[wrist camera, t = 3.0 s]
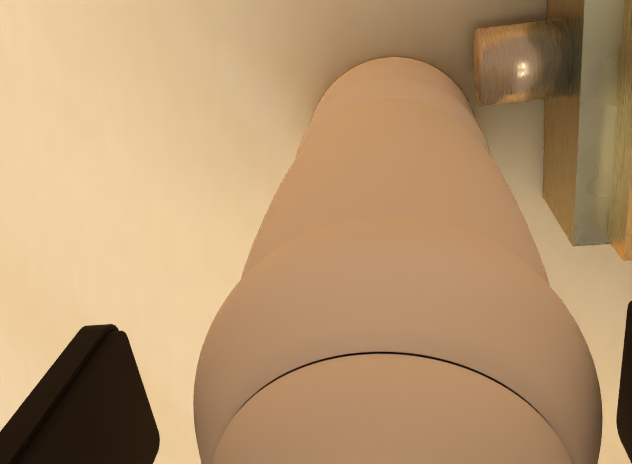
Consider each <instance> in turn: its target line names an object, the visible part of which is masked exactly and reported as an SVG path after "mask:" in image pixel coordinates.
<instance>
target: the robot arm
mask: <svg viewBox="0 0 632 464" xmlns="http://www.w3.org/2000/svg"><path fill="white" fill-rule="evenodd" d="M617 429H618V434H619V437H620V440H621V442H622V444H623V446H624V448H625V450H626V452H627V455H628V457H629V459H630V461H631V463H632V301H631V302H629V304H628V309H627V319H626V329H625V338H624V348H623V358H622V368H621V378H620V388H619V398H618V408H617ZM159 443H160V438H159V432H158V429H157V425H156V422H155V419H154V416H153V413H152V410H151V407H150V404H149V401H148V398H147V395H146V392H145V389H144V386H143V383H142V380H141V377H140V374H139V370H138V367H137V364H136V361H135V358H134V355H133V352H132V349H131V346H130V343H129V340H128V337H127V335H126V333H125V332H123V331H119V330H118V328H117V327H116V326H115V325H113V324H107V325H91V326H84V327H82V328H81V329H80V330H79V332H78V333H77V334H76V336H75V337H74V338H73V339H72V341H71V342H70V343H69V344H68V346H67V347H66V348H65V350H64V351H63V352H62V353H61V355H60V356H59V357H58V359H57V360H56V361H55V362H54V364H53V365H52V366H51V368H50V369H49V370H48V371H47V373H46V374H45V375H44V376H43V378H42V379H41V380H40V382H39V383H38V384H37V385H36V387H35V388H34V389H33V391H32V392H31V393H30V394H29V396H28V397H27V398H26V400H25V401H24V402H23V403H22V405H21V406H20V407H19V409H18V410H17V411H16V412H15V414H14V415H13V416H12V417H11V419H10V420H9V421H8V423H7V424H6V425H5V426H4V428H3V429H2V430H1V432H0V464H153V462H154V460H155V457H156V455H157V453H158V450H159Z"/></svg>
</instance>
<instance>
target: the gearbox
mask: <svg viewBox="0 0 632 464" xmlns="http://www.w3.org/2000/svg"><path fill="white" fill-rule="evenodd" d="M474 77H475V88H476V95H477V100H478V103H479V105H480V106H483V105H492V104H502V103H511V102H521V101H531V100H540V99H545V128H544V170H543V198H544V199H545V201H546V203H547V204H548V206H549V208H550V209H551V211H552V213H553V214H554V216H555V217H556V219H557V221H558V222H559V224H560V226H561V227H562V229H563V231H564V232H565V234H566V236H567V237H568V239H569V240H570V242H571V244H572V245H573V246H585V245H600V244H611V245H612V246H613V247H614V249H615V250H616V251H617V253H618V254H619V255H620V257H621V258H622V259H623V261H627V260H632V0H547V20H544V21H536V22H528V23H520V24H512V25H504V26H496V27H488V28H480V29H476V31H475V36H474Z"/></svg>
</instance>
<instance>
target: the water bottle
mask: <svg viewBox="0 0 632 464" xmlns="http://www.w3.org/2000/svg"><path fill="white" fill-rule="evenodd" d="M193 405H194V424H195V432H196V439H197V444H198V449H199V454H200V459H201V463H202V464H597V463H598V458H599V452H600V446H601V437H602V402H601V393H600V387H599V381H598V377H597V373H596V369H595V365H594V362H593V359H592V356H591V354H590V351H589V348H588V346H587V343H586V341H585V339H584V337H583V335H582V333H581V331H580V329H579V327H578V325H577V323H576V321H575V320H574V318H573V316H572V315H571V313H570V312H569V310H568V309H567V307H566V306H565V304H564V303H563V302H562V300H561V299H560V298H559V296H558V295H557V294H556V293H555V292H554V290H553V289H552V288H551V287H550V285H549V281H548V278H547V275H546V272H545V269H544V266H543V263H542V261H541V258H540V255H539V252H538V250H537V247H536V245H535V242H534V240H533V238H532V235H531V233H530V230H529V228H528V226H527V224H526V221H525V219H524V217H523V215H522V213H521V211H520V209H519V206H518V204H517V202H516V200H515V198H514V196H513V194H512V193H511V191H510V189H509V187H508V185H507V183H506V181H505V179H504V178H503V176H502V174H501V172H500V171H499V169H498V167H497V166H496V164H495V163H494V161H493V160H492V158H491V155H490V151H489V148H488V145H487V142H486V140H485V137H484V135H483V133H482V131H481V129H480V127H479V126H478V124H477V122H476V121H475V117H474V115H473V112H472V110H471V107H470V105H469V103H468V101H467V99H466V98H465V96H464V94H463V93H462V91H461V90H460V89H459V87H458V86H457V85H456V84H455V83H454V82H453V81H452V80H451V79H450V78H449V77H448V76H447V75H445V74H444V73H443V72H441V71H440V70H438V69H437V68H435V67H433V66H431V65H429V64H427V63H424V62H421V61H418V60H414V59H410V58H402V57H387V58H379V59H375V60H371V61H368V62H365V63H362V64H360V65H358V66H356V67H354V68H352V69H350V70H349V71H347V72H346V73H344V74H343V75H342V76H340V77H339V78H338V79H337V80H336V81H335V82H334V83H333V84H332V85H331V86H330V87H329V88H328V90H327V91H326V92H325V94H324V95H323V97H322V98H321V100H320V102H319V104H318V106H317V108H316V110H315V112H314V115H313V117H312V120H311V123H310V125H309V127H308V128H307V130H306V132H305V134H304V136H303V138H302V141H301V143H300V146H299V148H298V151H297V155H296V159H295V161H294V162H293V164H292V165H291V167H290V168H289V170H288V172H287V174H286V175H285V177H284V179H283V181H282V183H281V184H280V186H279V188H278V190H277V192H276V194H275V196H274V198H273V200H272V202H271V204H270V206H269V209H268V211H267V213H266V215H265V217H264V219H263V222H262V224H261V226H260V228H259V231H258V233H257V236H256V238H255V240H254V243H253V245H252V248H251V251H250V254H249V256H248V259H247V262H246V265H245V268H244V271H243V274H242V277H241V280H240V282H239V283H238V284H237V285H236V286H235V288H234V289H233V290H232V291H231V293H230V294H229V295H228V297H227V298H226V300H225V301H224V303H223V305H222V306H221V308H220V309H219V311H218V313H217V315H216V317H215V318H214V320H213V322H212V324H211V326H210V329H209V331H208V333H207V336H206V339H205V341H204V344H203V347H202V350H201V353H200V357H199V361H198V365H197V370H196V377H195V384H194V402H193Z"/></svg>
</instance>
